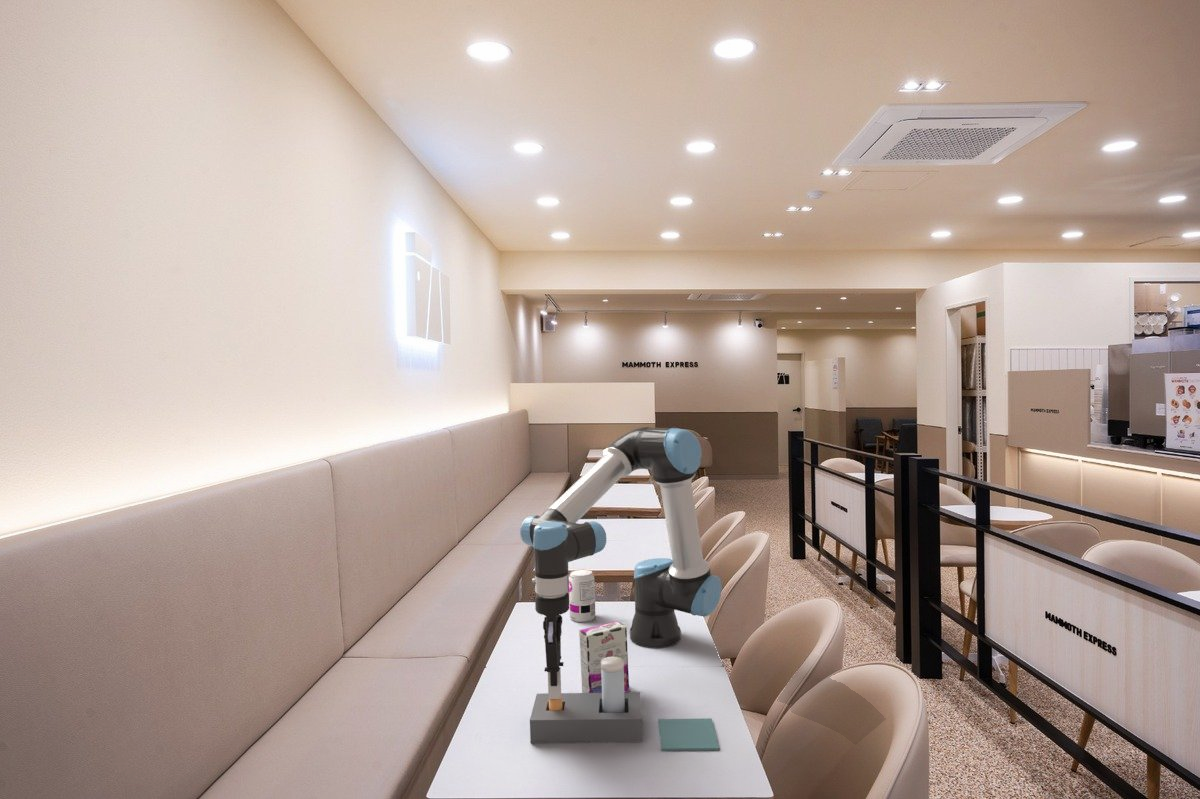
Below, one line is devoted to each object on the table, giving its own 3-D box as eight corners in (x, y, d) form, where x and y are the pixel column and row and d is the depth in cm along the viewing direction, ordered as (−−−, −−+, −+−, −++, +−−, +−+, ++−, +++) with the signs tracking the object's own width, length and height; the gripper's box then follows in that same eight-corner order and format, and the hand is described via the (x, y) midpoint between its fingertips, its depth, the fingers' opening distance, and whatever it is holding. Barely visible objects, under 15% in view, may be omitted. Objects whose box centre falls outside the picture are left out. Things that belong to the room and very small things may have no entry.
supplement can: (567, 622, 214) (566, 576, 214) (573, 613, 222) (571, 568, 222) (592, 623, 213) (591, 576, 212) (597, 614, 221) (596, 568, 220)
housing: (640, 713, 156) (640, 692, 156) (642, 741, 144) (641, 718, 144) (537, 714, 157) (536, 693, 156) (530, 743, 145) (529, 720, 145)
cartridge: (614, 719, 154) (612, 654, 153) (630, 727, 150) (628, 661, 149) (598, 727, 150) (596, 661, 150) (613, 736, 147) (612, 668, 146)
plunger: (563, 721, 152) (562, 694, 152) (562, 728, 149) (561, 701, 149) (550, 721, 152) (549, 695, 152) (548, 728, 149) (548, 701, 149)
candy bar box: (619, 683, 171) (618, 620, 171) (629, 691, 167) (628, 626, 166) (580, 694, 166) (578, 628, 165) (589, 702, 162) (587, 635, 161)
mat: (658, 721, 152) (658, 718, 152) (711, 720, 152) (711, 718, 152) (661, 750, 140) (661, 748, 140) (719, 750, 140) (719, 748, 140)
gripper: (538, 584, 156) (541, 684, 157) (531, 603, 143) (534, 712, 144) (571, 583, 156) (573, 683, 157) (566, 602, 143) (569, 712, 144)
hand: (554, 697), depth 150 cm, fingers closed
